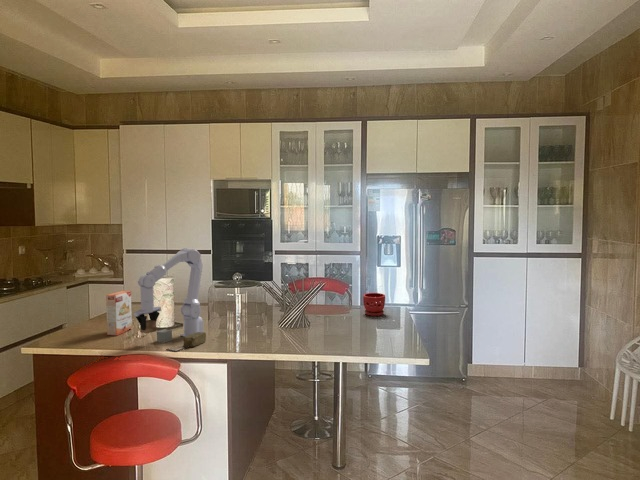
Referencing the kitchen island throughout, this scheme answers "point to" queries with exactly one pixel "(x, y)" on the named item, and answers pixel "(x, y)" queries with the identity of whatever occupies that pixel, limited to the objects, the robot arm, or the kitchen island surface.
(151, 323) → the walnut cube
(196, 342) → the stone block
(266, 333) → the kitchen island surface
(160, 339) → the slate grey cube
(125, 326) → the cracker box
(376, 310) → the plant pot
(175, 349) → the tile
